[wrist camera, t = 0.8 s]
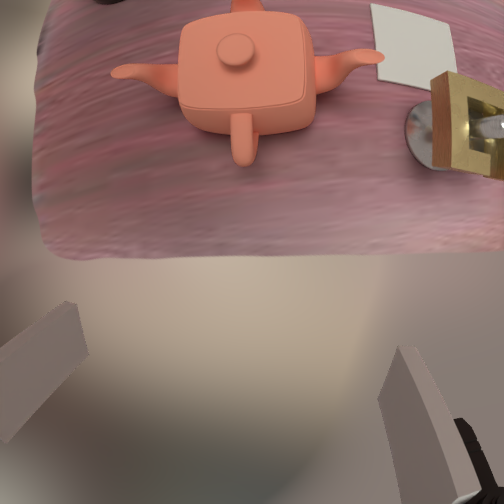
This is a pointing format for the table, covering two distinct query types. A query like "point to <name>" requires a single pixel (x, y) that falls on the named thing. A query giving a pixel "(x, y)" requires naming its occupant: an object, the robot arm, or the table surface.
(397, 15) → the mat
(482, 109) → the link
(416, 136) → the stand
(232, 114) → the pot
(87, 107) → the table surface
